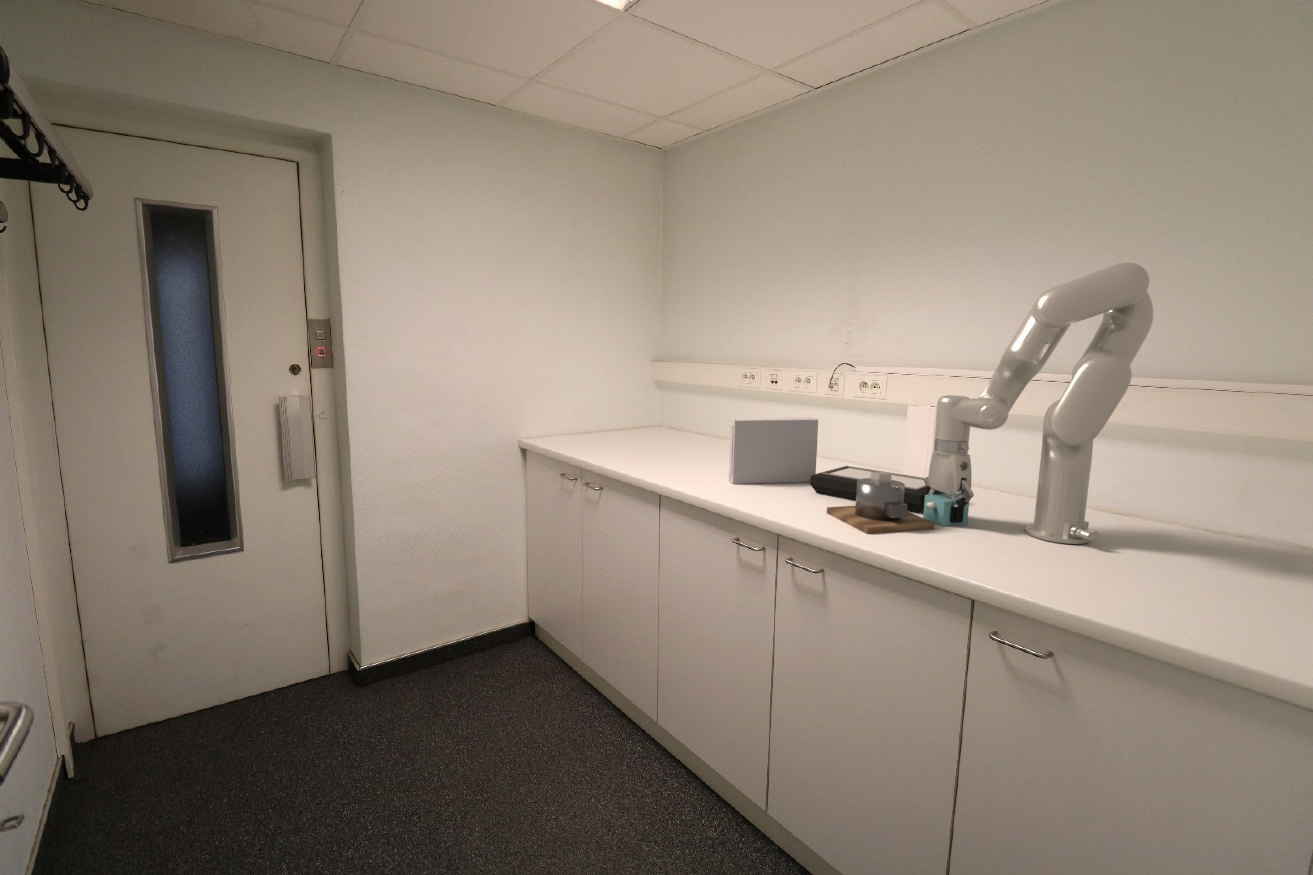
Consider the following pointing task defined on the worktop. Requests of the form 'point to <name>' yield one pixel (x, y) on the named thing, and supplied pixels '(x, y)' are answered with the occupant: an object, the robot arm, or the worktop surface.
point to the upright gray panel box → (772, 450)
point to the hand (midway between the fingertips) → (945, 517)
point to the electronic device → (846, 477)
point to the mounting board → (877, 526)
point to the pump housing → (941, 509)
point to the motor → (880, 498)
